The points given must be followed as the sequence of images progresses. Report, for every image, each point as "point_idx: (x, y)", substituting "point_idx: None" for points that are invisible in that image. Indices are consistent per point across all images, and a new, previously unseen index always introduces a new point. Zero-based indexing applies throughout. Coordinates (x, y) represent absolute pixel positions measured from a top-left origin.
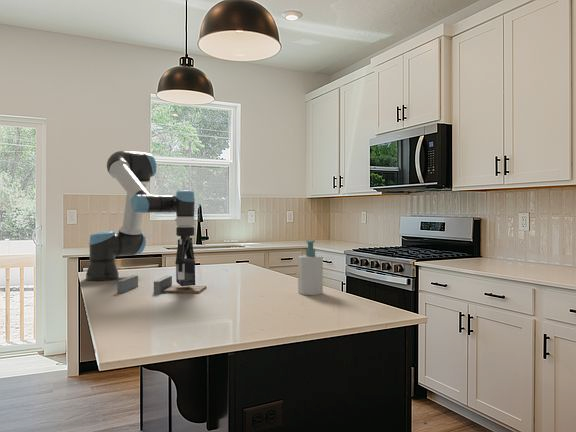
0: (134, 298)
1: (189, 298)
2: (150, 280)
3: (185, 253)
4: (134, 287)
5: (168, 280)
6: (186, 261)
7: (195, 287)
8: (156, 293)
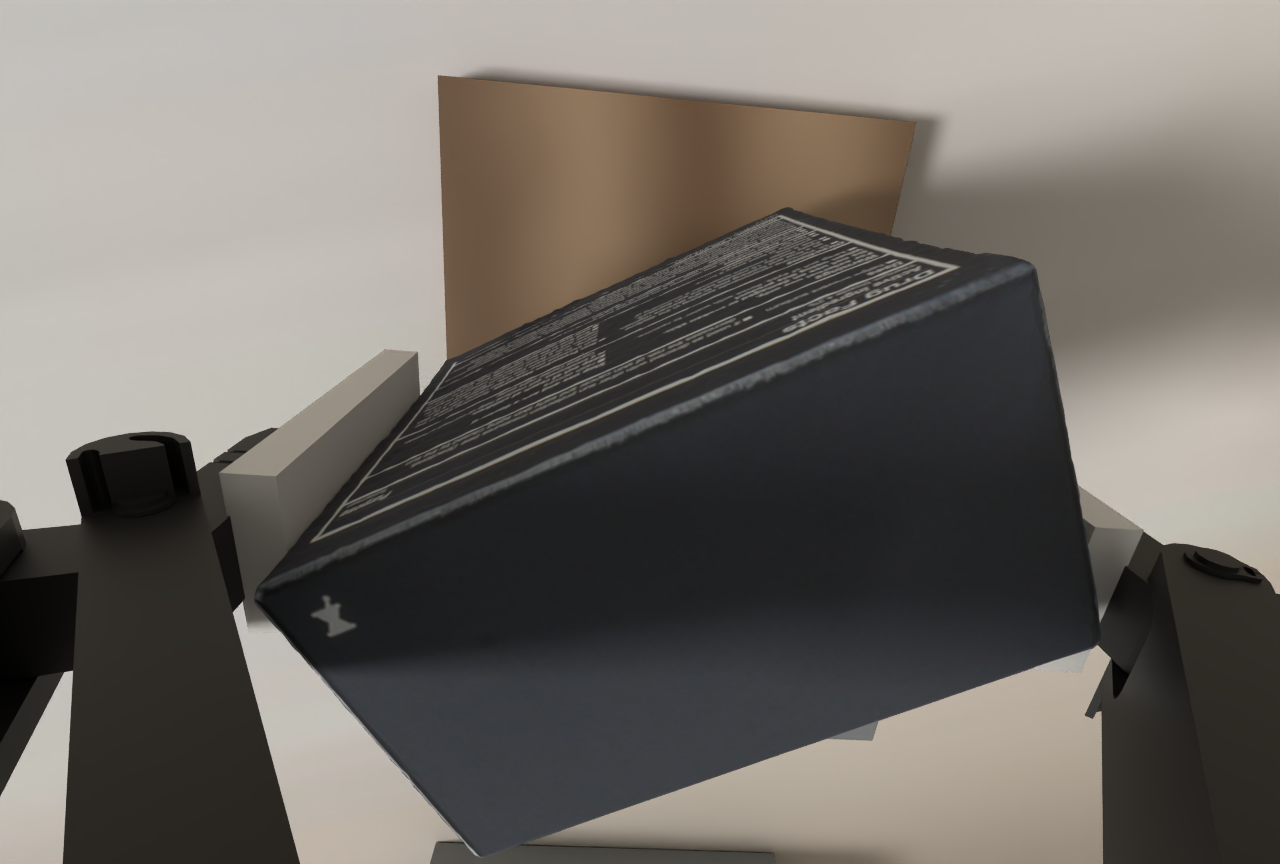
0: (1039, 720)
1: (1212, 195)
2: (52, 839)
3: (1202, 773)
4: (522, 850)
5: None
6: (1080, 519)
7: (600, 235)
8: None
